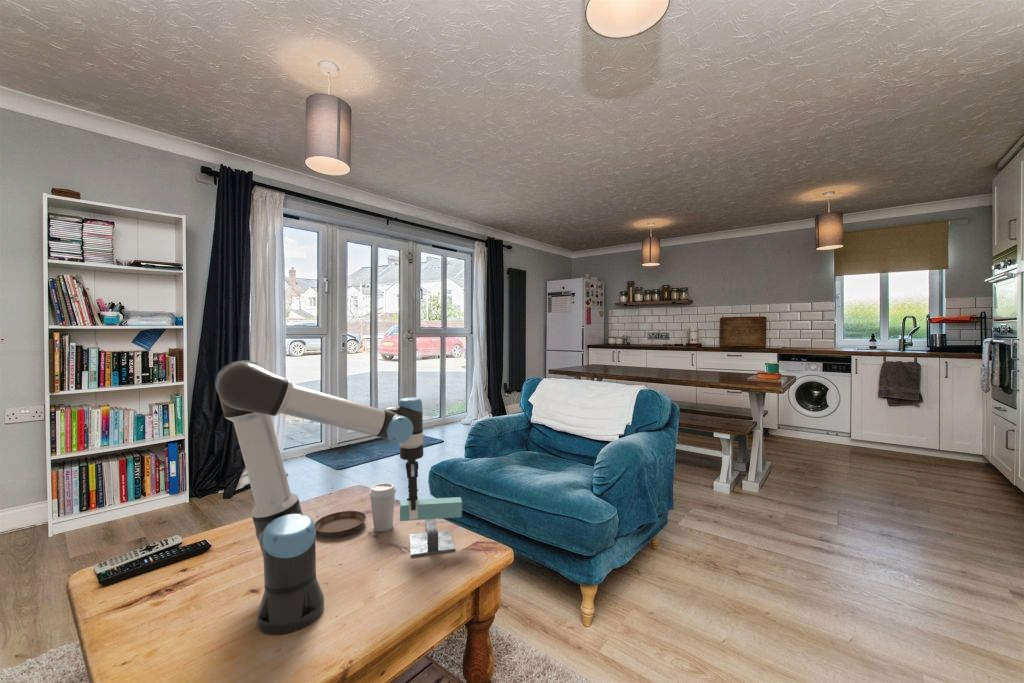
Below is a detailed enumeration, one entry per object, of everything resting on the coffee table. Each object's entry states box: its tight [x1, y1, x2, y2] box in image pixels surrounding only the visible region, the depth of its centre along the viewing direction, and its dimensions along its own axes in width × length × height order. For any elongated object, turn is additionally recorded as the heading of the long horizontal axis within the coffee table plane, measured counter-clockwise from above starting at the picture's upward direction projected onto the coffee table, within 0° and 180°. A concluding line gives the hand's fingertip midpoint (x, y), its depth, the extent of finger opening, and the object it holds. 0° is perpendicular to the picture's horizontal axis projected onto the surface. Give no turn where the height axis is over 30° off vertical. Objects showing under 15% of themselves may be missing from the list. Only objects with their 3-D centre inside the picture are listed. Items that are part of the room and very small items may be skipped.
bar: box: [399, 496, 463, 522], centre depth 144 cm, size 4×20×5 cm, turn 105°
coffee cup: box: [368, 482, 397, 533], centre depth 158 cm, size 10×10×15 cm
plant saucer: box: [314, 510, 367, 538], centre depth 158 cm, size 18×18×3 cm
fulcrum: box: [409, 519, 456, 558], centre depth 145 cm, size 14×14×6 cm
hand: (413, 515), depth 143 cm, fingers closed on bar, 4 cm apart
